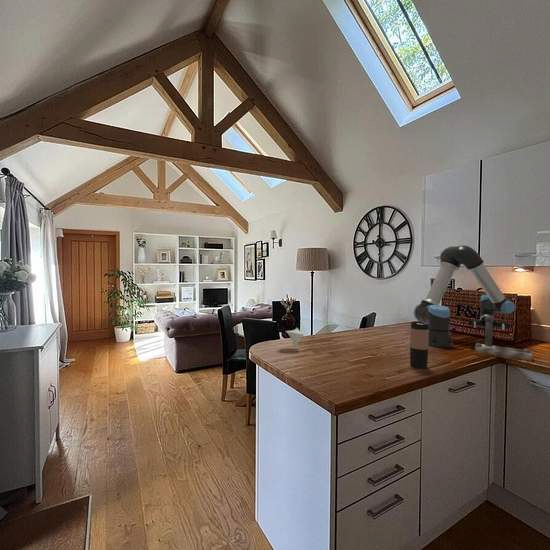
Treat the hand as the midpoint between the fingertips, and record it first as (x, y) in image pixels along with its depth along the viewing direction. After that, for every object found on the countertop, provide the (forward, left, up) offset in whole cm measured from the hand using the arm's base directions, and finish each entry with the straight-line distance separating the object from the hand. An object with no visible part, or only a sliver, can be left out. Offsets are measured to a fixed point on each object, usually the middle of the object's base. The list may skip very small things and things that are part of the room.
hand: (488, 326), depth 178 cm
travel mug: (+36, -54, -13) cm, 67 cm away
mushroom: (+14, -111, -13) cm, 113 cm away
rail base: (+11, 0, -13) cm, 18 cm away
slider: (+8, -5, -12) cm, 15 cm away
